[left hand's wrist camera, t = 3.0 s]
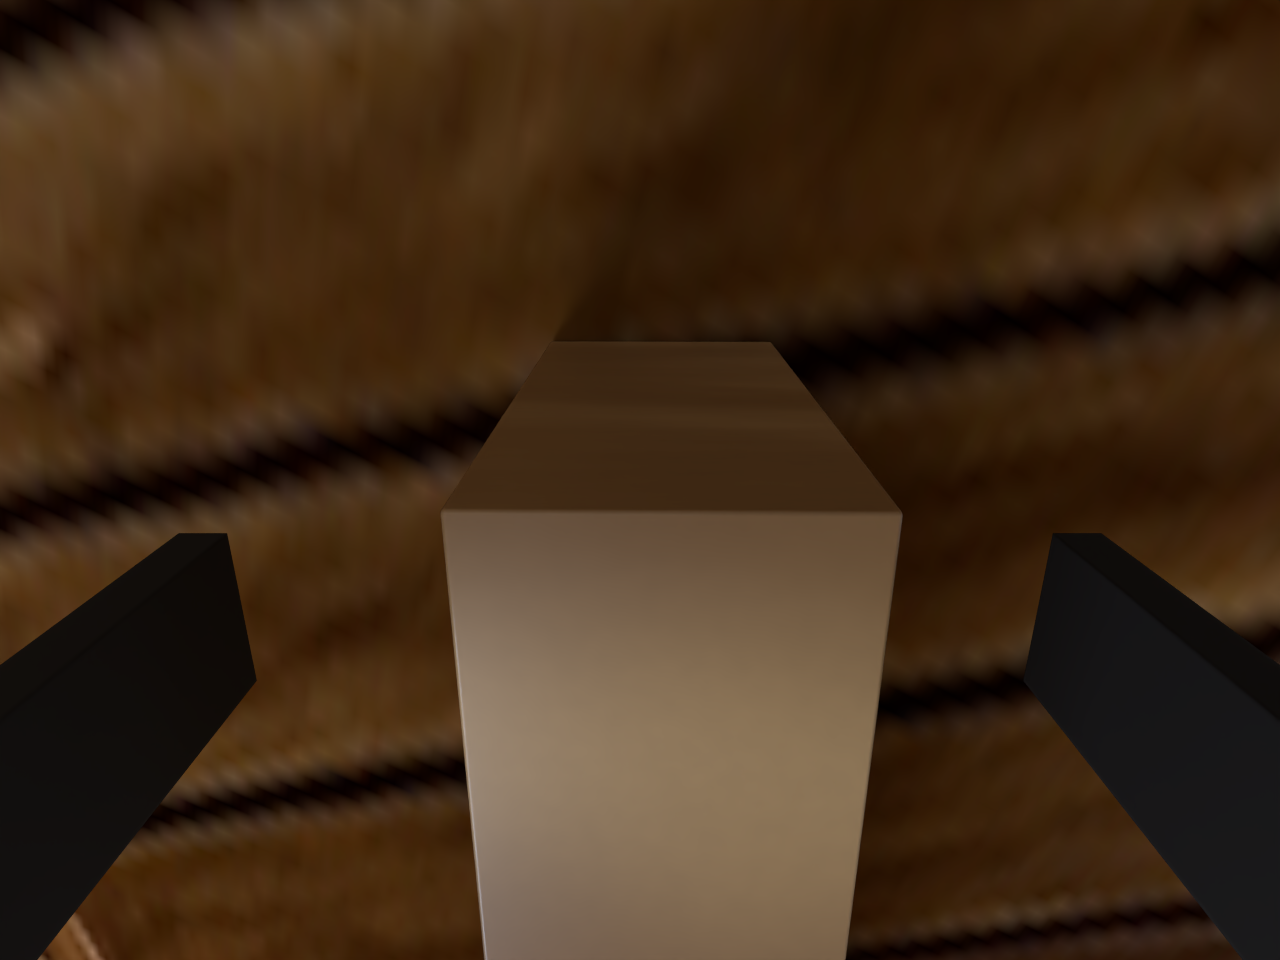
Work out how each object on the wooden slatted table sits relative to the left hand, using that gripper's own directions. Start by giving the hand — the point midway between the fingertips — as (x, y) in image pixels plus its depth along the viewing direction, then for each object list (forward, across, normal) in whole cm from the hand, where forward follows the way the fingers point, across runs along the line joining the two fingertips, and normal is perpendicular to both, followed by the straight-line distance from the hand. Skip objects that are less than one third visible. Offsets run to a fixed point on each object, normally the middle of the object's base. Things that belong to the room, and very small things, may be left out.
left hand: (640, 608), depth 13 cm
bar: (+5, 0, -8) cm, 9 cm away
